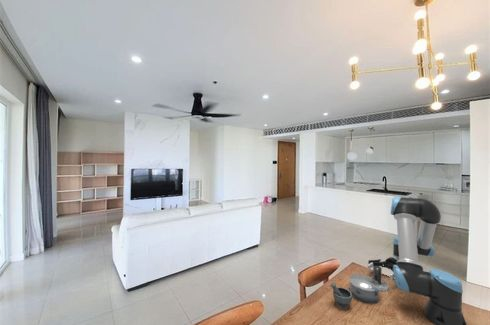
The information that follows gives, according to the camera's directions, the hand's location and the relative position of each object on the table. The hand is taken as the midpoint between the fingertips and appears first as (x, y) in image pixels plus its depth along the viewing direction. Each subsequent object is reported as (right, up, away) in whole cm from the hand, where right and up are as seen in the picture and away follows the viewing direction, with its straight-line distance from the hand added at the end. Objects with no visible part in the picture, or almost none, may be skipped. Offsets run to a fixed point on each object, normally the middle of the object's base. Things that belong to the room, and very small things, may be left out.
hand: (378, 272), depth 134 cm
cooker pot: (-15, -8, -11) cm, 20 cm away
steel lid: (-2, -8, -2) cm, 8 cm away
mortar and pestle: (-33, -8, -19) cm, 39 cm away
